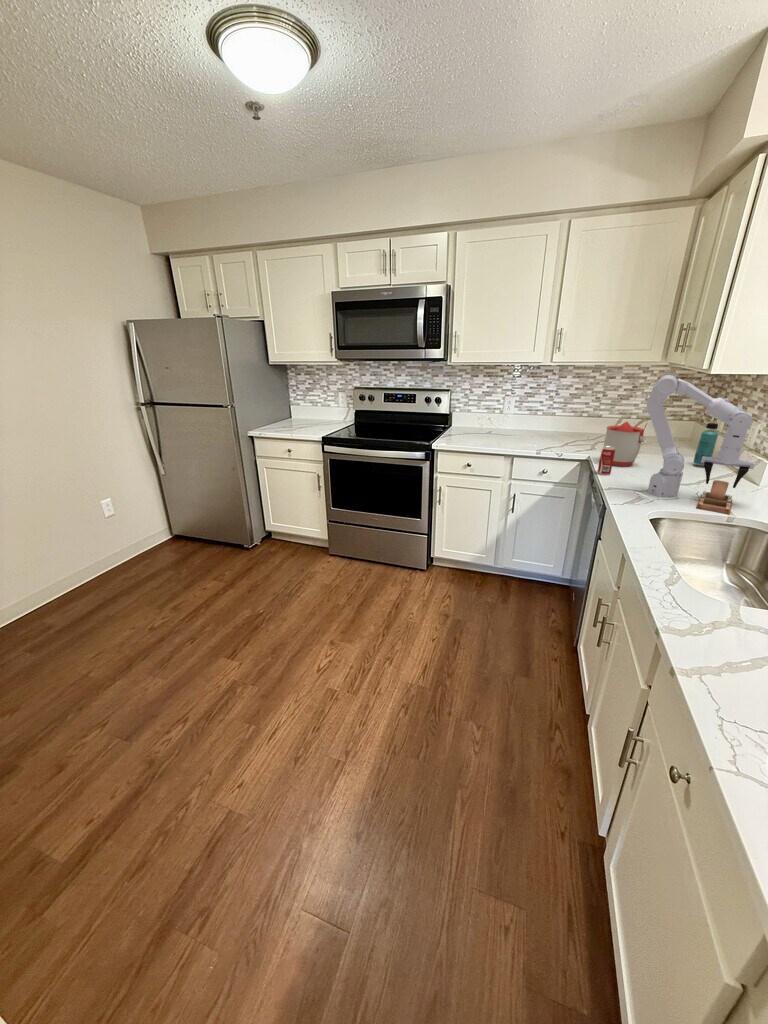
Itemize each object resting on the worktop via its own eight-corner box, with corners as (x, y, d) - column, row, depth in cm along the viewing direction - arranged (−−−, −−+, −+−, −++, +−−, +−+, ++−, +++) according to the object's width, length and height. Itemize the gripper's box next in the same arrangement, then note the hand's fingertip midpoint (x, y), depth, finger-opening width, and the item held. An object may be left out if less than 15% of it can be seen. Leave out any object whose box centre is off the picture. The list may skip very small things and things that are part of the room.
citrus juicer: (635, 470, 191) (645, 426, 183) (595, 464, 202) (603, 422, 194) (644, 463, 201) (654, 421, 194) (605, 457, 212) (613, 417, 205)
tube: (715, 503, 149) (721, 484, 146) (704, 499, 153) (710, 480, 150) (726, 502, 150) (732, 483, 147) (715, 498, 154) (721, 480, 151)
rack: (729, 517, 139) (731, 510, 138) (694, 510, 145) (696, 504, 144) (731, 502, 152) (733, 495, 151) (700, 496, 158) (702, 490, 157)
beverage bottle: (693, 463, 201) (705, 421, 194) (710, 466, 197) (723, 423, 189) (690, 466, 197) (702, 423, 190) (707, 469, 192) (720, 425, 185)
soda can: (599, 471, 190) (604, 445, 185) (611, 473, 187) (617, 446, 182) (595, 474, 186) (600, 447, 181) (608, 476, 183) (614, 449, 178)
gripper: (704, 446, 146) (694, 484, 151) (759, 452, 137) (746, 492, 142) (706, 443, 151) (696, 479, 156) (759, 448, 142) (746, 486, 147)
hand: (720, 485), depth 149 cm, fingers open, 7 cm apart
